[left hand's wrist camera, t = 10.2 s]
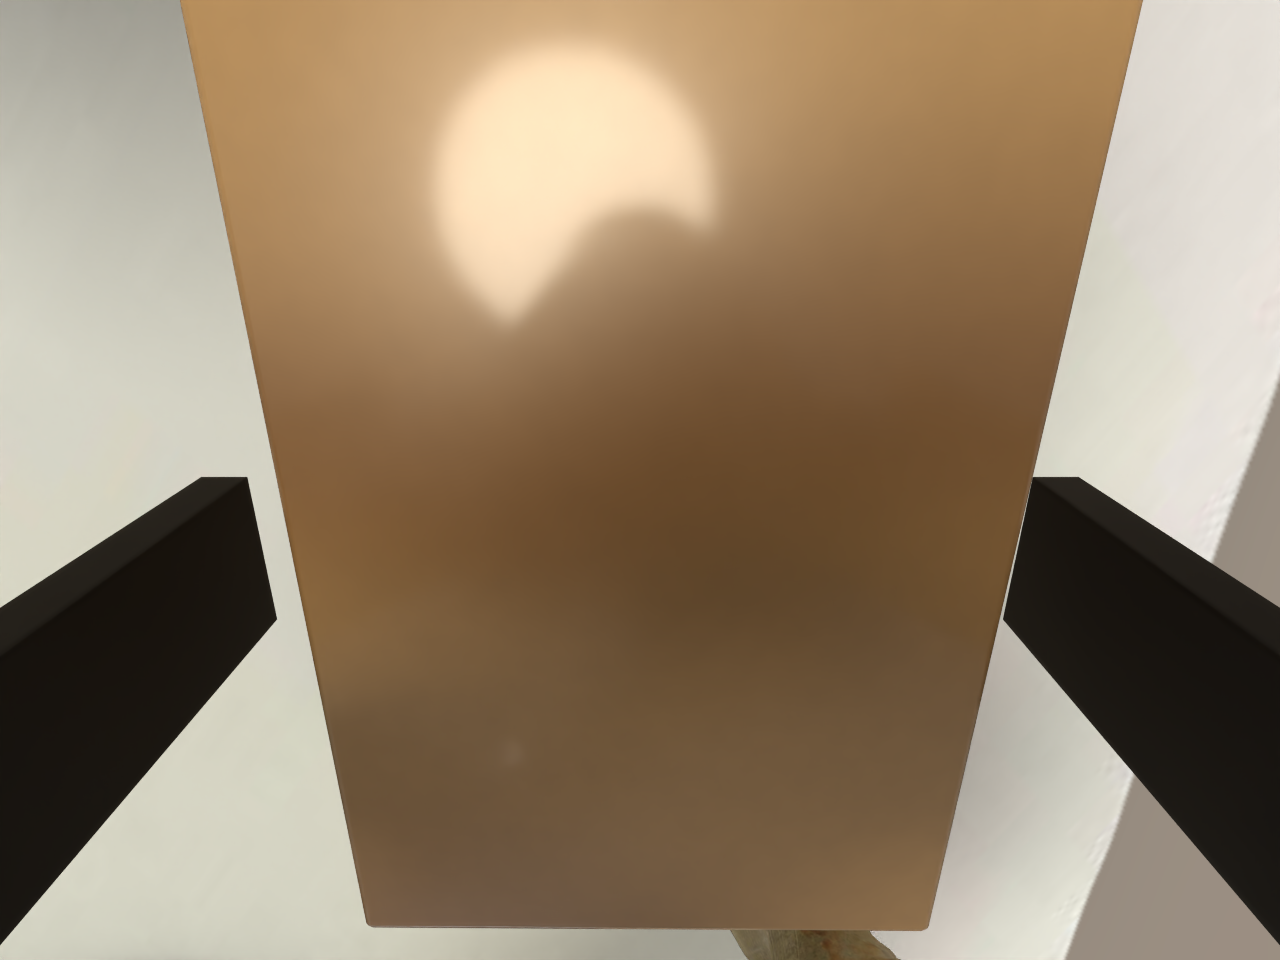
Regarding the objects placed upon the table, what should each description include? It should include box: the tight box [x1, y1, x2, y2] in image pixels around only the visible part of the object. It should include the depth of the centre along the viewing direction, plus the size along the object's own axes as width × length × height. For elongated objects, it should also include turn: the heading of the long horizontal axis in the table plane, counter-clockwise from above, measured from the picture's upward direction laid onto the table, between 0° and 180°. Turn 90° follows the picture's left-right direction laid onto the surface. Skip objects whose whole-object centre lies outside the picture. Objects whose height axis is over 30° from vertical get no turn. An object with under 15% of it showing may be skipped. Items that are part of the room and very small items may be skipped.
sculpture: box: [731, 930, 900, 960], centre depth 24 cm, size 6×7×15 cm
